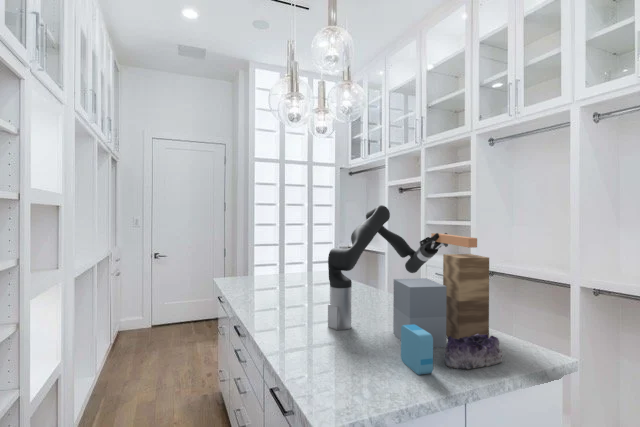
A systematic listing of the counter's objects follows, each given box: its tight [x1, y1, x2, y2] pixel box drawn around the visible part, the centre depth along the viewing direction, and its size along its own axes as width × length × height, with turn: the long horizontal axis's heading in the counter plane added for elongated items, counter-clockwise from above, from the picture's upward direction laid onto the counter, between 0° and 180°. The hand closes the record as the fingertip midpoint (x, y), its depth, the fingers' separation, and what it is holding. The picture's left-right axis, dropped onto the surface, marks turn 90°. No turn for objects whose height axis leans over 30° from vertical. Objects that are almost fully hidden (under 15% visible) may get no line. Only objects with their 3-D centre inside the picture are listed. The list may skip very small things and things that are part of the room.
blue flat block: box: [400, 324, 434, 376], centre depth 110 cm, size 12×4×12 cm, turn 14°
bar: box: [430, 232, 478, 249], centre depth 146 cm, size 30×4×4 cm, turn 9°
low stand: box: [392, 277, 447, 349], centre depth 134 cm, size 16×14×22 cm
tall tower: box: [442, 253, 490, 339], centre depth 137 cm, size 12×12×32 cm
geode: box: [443, 334, 503, 371], centre depth 114 cm, size 20×12×10 cm, turn 115°
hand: (442, 235), depth 154 cm, fingers closed on bar, 3 cm apart
